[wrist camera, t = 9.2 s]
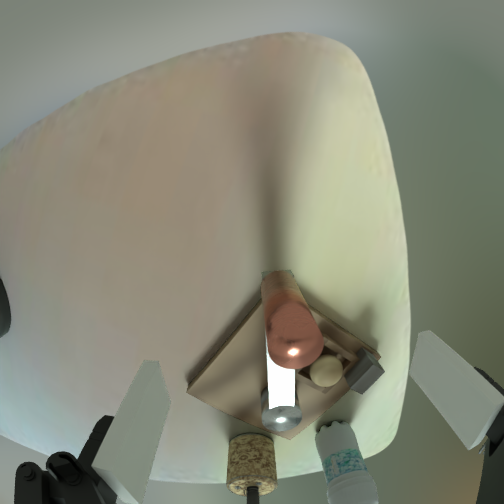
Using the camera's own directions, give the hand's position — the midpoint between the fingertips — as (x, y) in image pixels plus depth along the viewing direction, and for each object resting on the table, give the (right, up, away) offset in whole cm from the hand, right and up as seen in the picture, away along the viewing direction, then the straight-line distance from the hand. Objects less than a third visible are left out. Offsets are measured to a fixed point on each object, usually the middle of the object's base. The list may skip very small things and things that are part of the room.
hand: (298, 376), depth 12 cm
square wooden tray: (+2, -10, +21) cm, 24 cm away
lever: (+1, -6, +16) cm, 17 cm away
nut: (+6, -8, +19) cm, 22 cm away
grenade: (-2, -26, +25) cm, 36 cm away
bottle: (+11, -23, +25) cm, 35 cm away
